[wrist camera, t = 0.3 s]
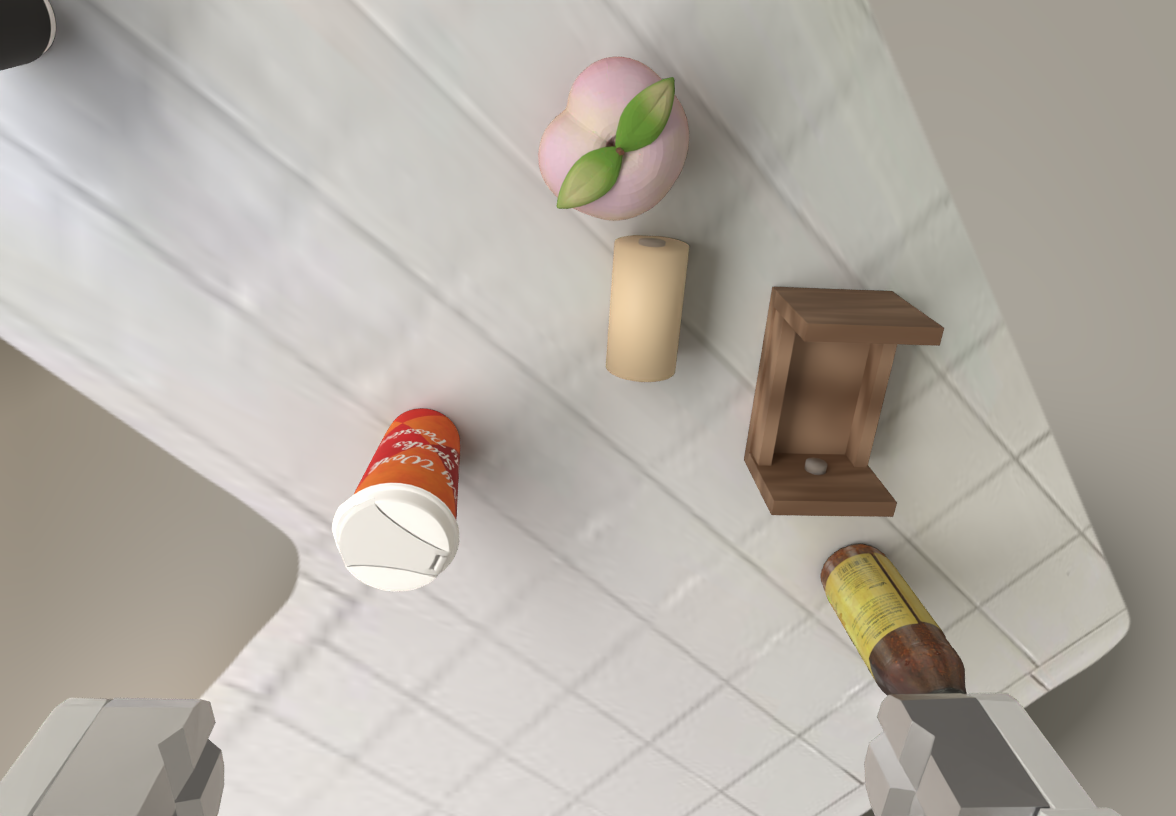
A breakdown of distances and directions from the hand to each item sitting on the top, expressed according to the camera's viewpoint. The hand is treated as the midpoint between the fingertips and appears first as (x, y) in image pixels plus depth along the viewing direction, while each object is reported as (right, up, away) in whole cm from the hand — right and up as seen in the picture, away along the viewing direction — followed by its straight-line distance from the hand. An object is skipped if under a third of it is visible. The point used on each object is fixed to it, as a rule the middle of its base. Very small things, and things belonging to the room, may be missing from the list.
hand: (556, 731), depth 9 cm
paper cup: (-12, +2, +50) cm, 51 cm away
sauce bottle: (+24, -10, +58) cm, 64 cm away
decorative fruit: (+2, +22, +41) cm, 47 cm away
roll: (+4, +12, +46) cm, 48 cm away
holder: (+18, +6, +50) cm, 53 cm away
